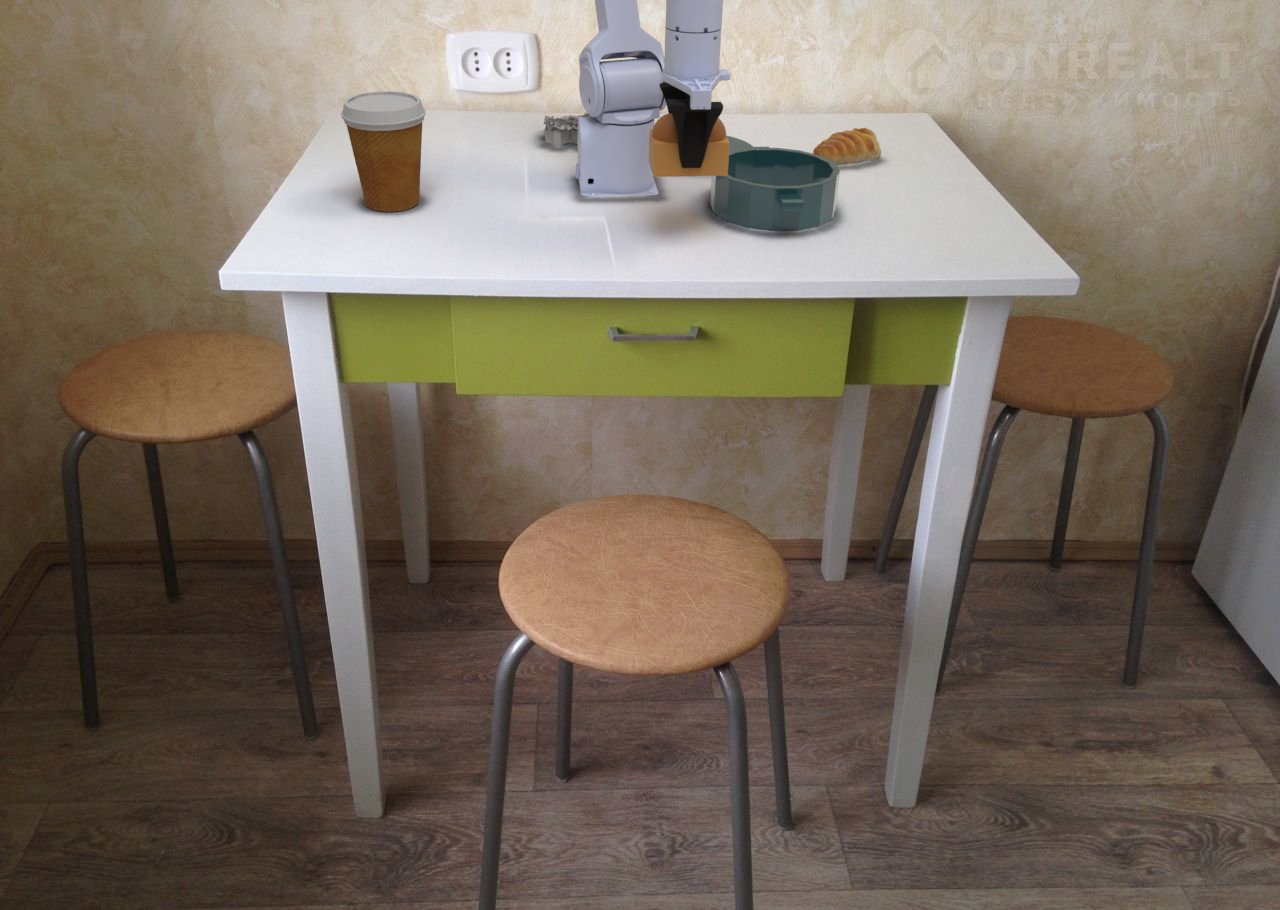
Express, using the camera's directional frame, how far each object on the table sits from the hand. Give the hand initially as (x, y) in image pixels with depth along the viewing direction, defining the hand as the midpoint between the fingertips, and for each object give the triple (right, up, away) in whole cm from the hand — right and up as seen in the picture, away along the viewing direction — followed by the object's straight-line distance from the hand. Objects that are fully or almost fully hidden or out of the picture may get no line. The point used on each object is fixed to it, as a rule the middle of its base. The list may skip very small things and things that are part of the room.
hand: (687, 159), depth 123 cm
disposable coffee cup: (-35, -2, +13) cm, 37 cm away
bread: (0, -1, +1) cm, 1 cm away
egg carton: (-13, +11, +34) cm, 38 cm away
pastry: (+23, +7, +30) cm, 38 cm away
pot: (+11, -3, +13) cm, 17 cm away
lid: (+3, +9, +30) cm, 31 cm away
